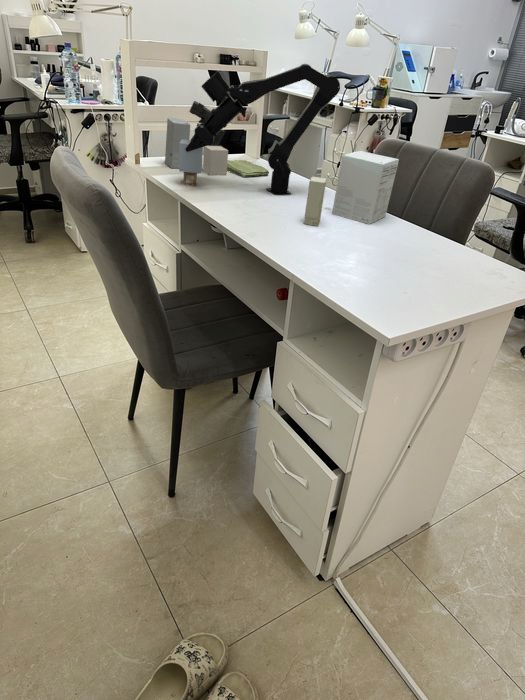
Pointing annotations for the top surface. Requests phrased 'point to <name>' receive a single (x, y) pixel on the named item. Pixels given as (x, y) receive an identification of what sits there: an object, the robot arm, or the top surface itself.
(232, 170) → the washcloth
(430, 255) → the top surface
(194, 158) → the blue box
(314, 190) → the skincare box
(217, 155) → the taupe cardboard box
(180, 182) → the top surface
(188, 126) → the skincare box
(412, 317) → the top surface
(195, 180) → the brown picture frame
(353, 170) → the supplement box
